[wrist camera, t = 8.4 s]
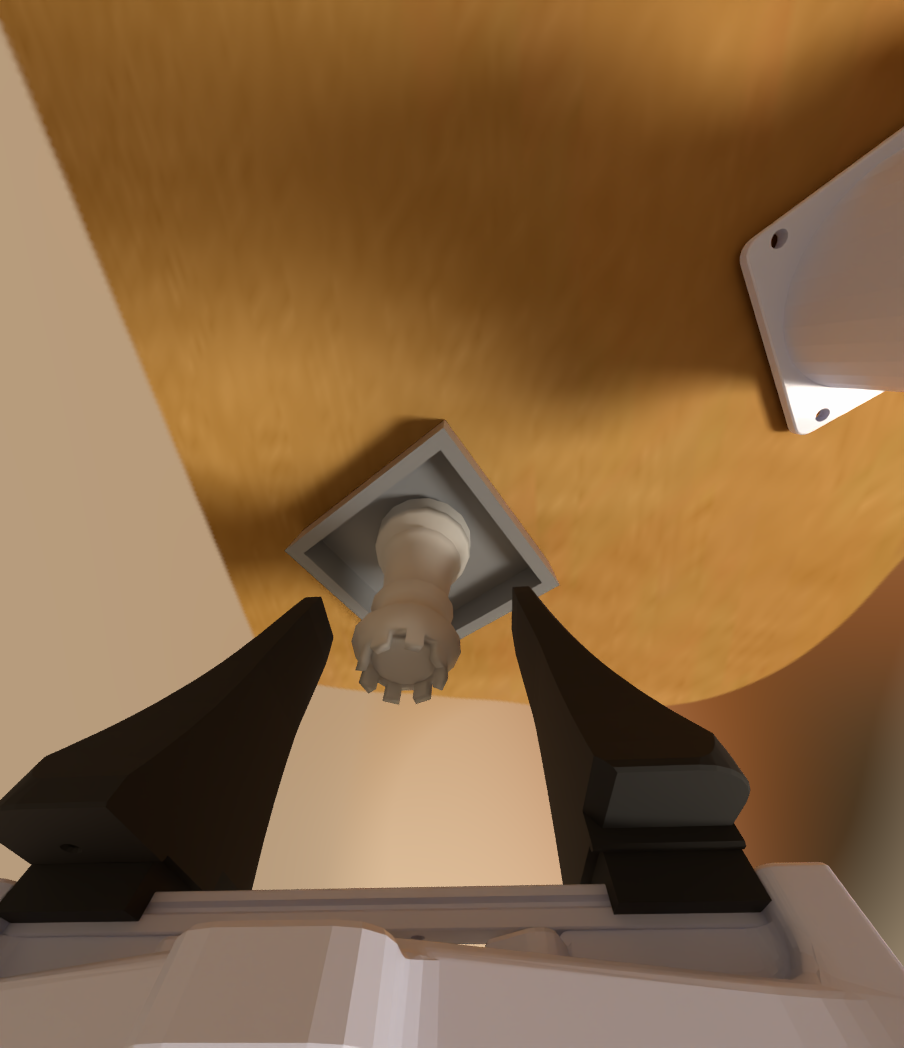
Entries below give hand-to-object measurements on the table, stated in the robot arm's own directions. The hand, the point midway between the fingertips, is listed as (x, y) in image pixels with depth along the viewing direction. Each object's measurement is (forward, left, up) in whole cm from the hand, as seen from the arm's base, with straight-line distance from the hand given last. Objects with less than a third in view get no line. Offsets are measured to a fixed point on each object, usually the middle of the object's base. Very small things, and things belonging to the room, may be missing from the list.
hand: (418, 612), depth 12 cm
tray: (0, 0, -5) cm, 5 cm away
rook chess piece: (0, -1, -5) cm, 5 cm away
